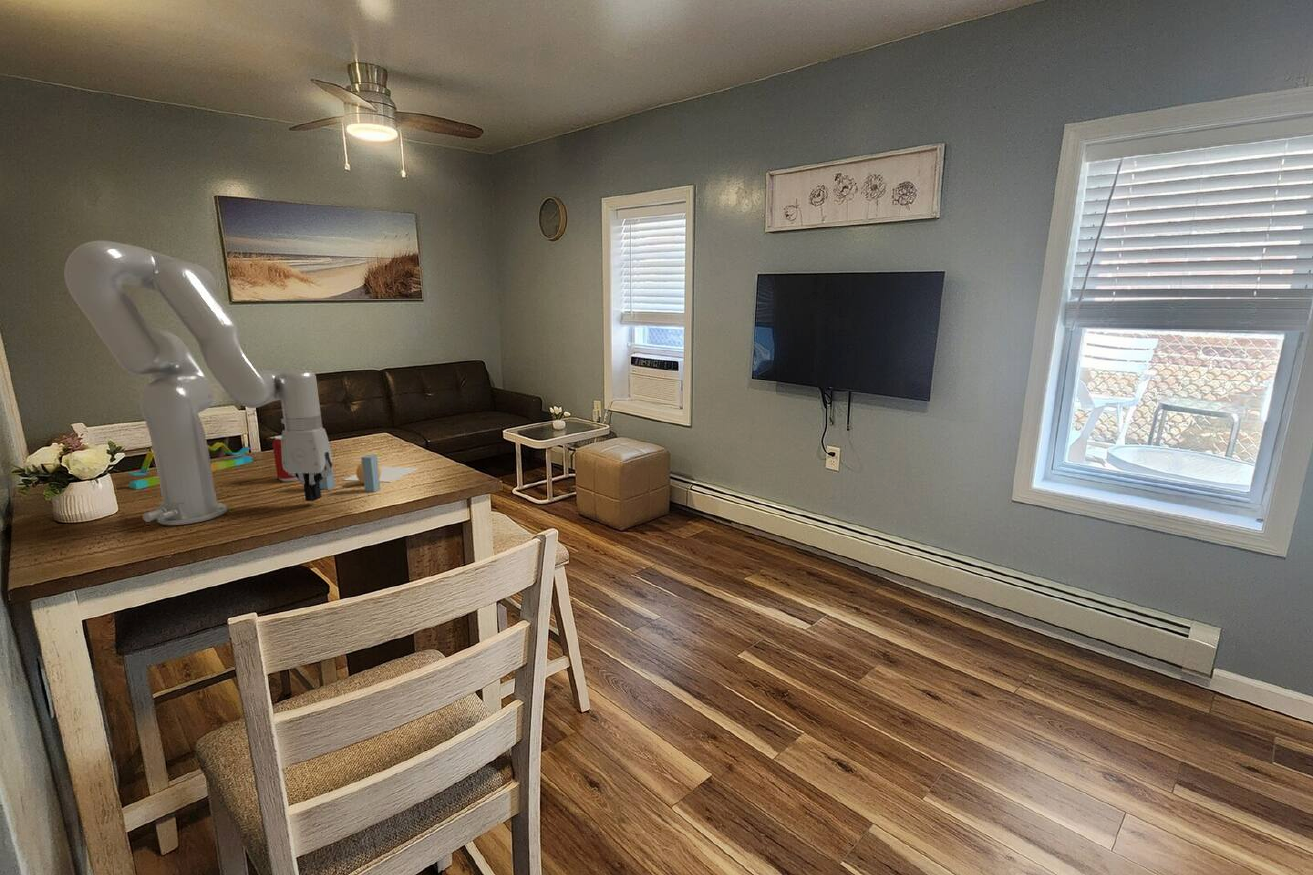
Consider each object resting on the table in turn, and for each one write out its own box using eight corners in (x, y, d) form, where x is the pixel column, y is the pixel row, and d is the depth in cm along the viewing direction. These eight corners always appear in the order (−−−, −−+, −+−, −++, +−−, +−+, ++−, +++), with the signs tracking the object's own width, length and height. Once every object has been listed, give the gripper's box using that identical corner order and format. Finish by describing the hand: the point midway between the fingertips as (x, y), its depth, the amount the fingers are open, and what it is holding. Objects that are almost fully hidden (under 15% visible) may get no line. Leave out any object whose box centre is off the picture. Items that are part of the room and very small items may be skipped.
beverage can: (295, 482, 164) (289, 439, 161) (272, 482, 164) (266, 439, 161) (309, 476, 170) (303, 434, 167) (287, 475, 170) (281, 434, 167)
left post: (328, 489, 157) (323, 455, 155) (319, 489, 157) (314, 455, 156) (334, 486, 160) (330, 453, 158) (326, 486, 160) (321, 453, 158)
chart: (245, 461, 187) (238, 413, 184) (252, 462, 186) (245, 414, 183) (130, 488, 160) (118, 433, 157) (137, 490, 159) (125, 434, 155)
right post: (374, 491, 155) (370, 457, 153) (365, 491, 155) (361, 457, 153) (380, 488, 157) (376, 455, 155) (371, 488, 158) (367, 454, 156)
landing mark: (390, 482, 163) (390, 481, 163) (343, 480, 165) (343, 479, 165) (418, 468, 177) (418, 468, 176) (374, 466, 179) (374, 466, 179)
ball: (369, 479, 157) (377, 458, 160) (348, 477, 158) (356, 456, 161) (380, 488, 163) (388, 467, 165) (360, 485, 164) (368, 465, 166)
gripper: (262, 426, 138) (273, 503, 142) (321, 427, 136) (331, 506, 140) (286, 419, 145) (297, 493, 149) (343, 421, 143) (352, 496, 147)
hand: (313, 499), depth 145 cm, fingers closed
